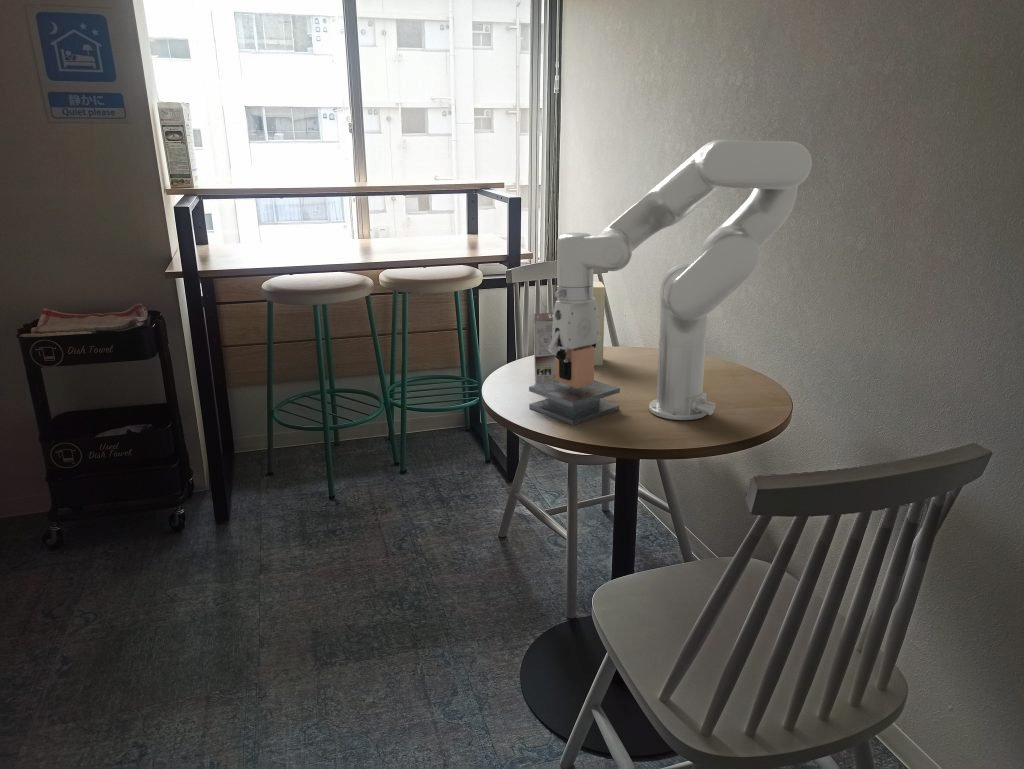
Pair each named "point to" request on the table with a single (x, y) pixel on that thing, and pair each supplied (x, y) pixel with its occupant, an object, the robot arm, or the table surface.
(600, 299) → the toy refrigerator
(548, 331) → the coffee box
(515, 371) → the table surface
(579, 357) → the block
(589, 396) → the stand
